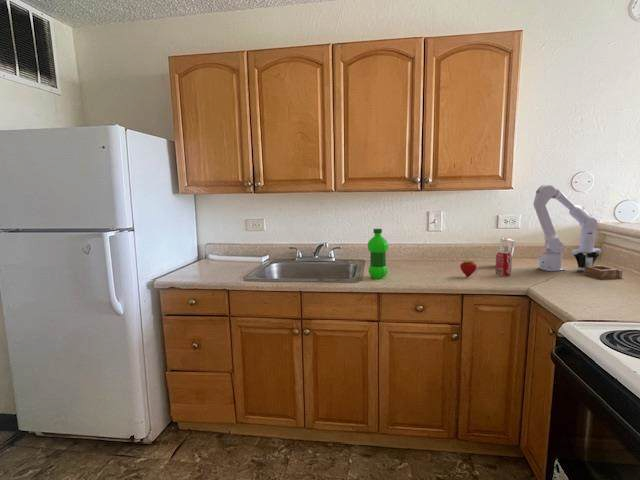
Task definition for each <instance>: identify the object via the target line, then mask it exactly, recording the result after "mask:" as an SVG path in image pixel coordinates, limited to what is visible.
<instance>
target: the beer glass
mask: <svg viewBox="0 0 640 480" xmlns="http://www.w3.org/2000/svg"><path fill="white" fill-rule="evenodd" d="M499 251H509V252H511V255H512V257H513V255H514V251H515V239H514V238H510V237H509V238H500V240H499Z"/></svg>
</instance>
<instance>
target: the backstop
mask: <svg viewBox="0 0 640 480" xmlns="http://www.w3.org/2000/svg"><path fill="white" fill-rule="evenodd" d="M621 278H623V270H621V269H619V273H618V278H617V279H621Z"/></svg>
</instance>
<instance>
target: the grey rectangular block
mask: <svg viewBox="0 0 640 480" xmlns="http://www.w3.org/2000/svg"><path fill="white" fill-rule="evenodd" d="M592 264H593V257H589V256H587V255H586V257H585V260H584V265H583V268H580V267H578V266H577V270H578V271H581V272H584V271H585V266H592ZM593 265H594V264H593Z"/></svg>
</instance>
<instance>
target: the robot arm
mask: <svg viewBox="0 0 640 480" xmlns="http://www.w3.org/2000/svg"><path fill="white" fill-rule="evenodd" d="M552 199H554V200H557V201H558V202H559V203H561V205H562V206H564V207H565V208H566V209H567V210H568V211H569V212H568V214H569V215H570V216H571V217H572V218H573V219H575V221H576V222H578V223H579V226H580V227H581V230H580V241H579V248H577V249H572V250H571V254H572V255H573V257H575V259H576V263H577V268H578V267H580V268H583V265H584V260H585V257H586V256H589V257H593V264H592V266H594V263H595V261H596V260H597V258H598V257H599V256H600V254H601V253H602V248H597V247H596V248H595V240H596V239H595V238H596V229H597V228H598V226H599V223H598V220H597V219H596V218H595V217H592V216H593V215H592V214H591V213H588V212H587V211H586V208H585V207H584V206H581V205H575V204H574V203H573V202H572V201H571V200H570V199H569V198H568V197H567V196H566V194H564V193H563V192H562V191H561V190H560V189H559V188H557V187H556V186H555V185H551V184H542V185H541V186H539V187H538V188H537V190H536V191H535V196H534V200H533V202H532V203H533V205H532V206H533V208H534V209H535V212H536V216H537V218H538V221H539V224H540V226H541V229H542V232H543V235H544V247H545V248H546V249H545V252H542V253H541V254H540V255H539V261H538V266H537V269H541V270H543V271H547V272H557V271H566V268H562V259H563V251H564V249H565V246H564V243H563V242H562V241H561V240H560V237H559V236H558V235H557V233H556V230H555V227H554V225H553V222H552V219H551V217H550V214H549V211H548V209H547V206H546V205H547V203H549V201H550V200H552Z"/></svg>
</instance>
